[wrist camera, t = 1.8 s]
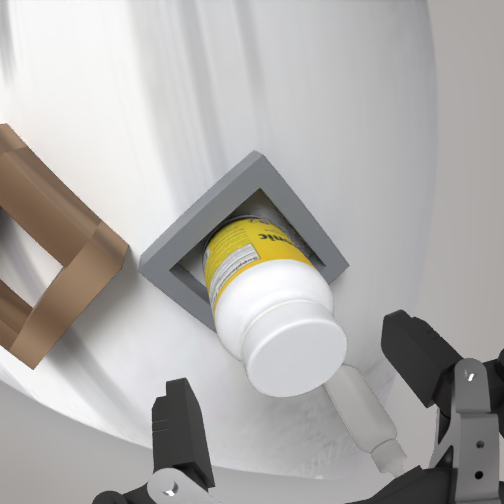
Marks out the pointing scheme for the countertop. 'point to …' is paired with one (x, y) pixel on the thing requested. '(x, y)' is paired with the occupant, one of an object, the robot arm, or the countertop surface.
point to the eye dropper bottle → (366, 419)
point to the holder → (215, 211)
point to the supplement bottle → (271, 307)
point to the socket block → (51, 251)
